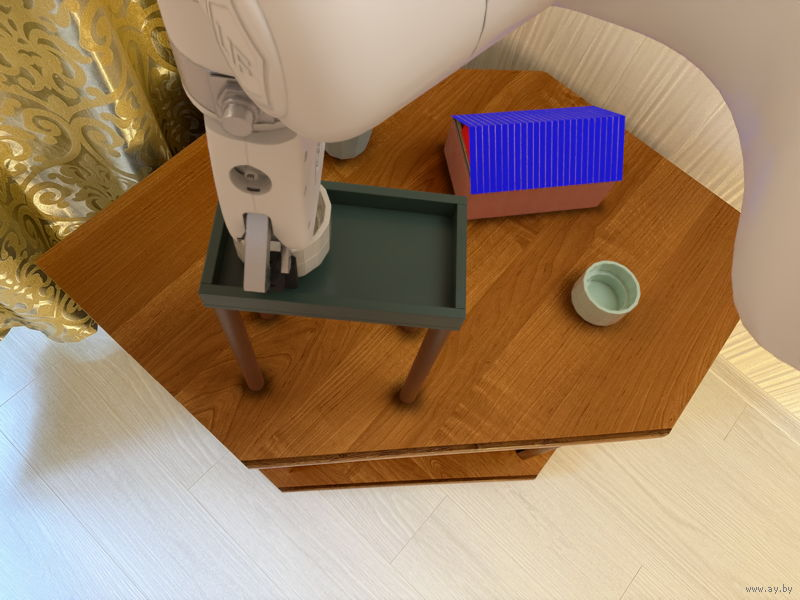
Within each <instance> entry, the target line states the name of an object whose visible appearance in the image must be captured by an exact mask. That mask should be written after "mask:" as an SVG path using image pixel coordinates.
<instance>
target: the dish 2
mask: <svg viewBox="0 0 800 600" xmlns="http://www.w3.org/2000/svg"><path fill="white" fill-rule="evenodd" d="M640 287H641V286H640V283H639V281H638V279H637V277H636V276H635V273H633V272H632V271H631V270H630V269H629V268H628V267H627V266H625V265H623V264H621V263H619V262H617V261H614V260H600V261H597V262H594V263H593V264H591V265H590V266H589V267H588V268H586V270H585V271H584V272H583V273H582V274H581V276H579V278H578V279H577V280H576V281H575V282H574V283H573V286H572V289H571V291H570V292H571V293H570V295H571V304H572V306H573V307H574V310H575V312H576V313H577V314H578V315H579V316H580V317H581V318H582V319H583V320H584V321H586V322H588V323H590V324H592V325H594V326H602V327H608V326H611V325H614V324H616V323H618V322H619V321H620V320H621V319H623V318H624V317H625V316H626V315H628V314H629V313H630V312H632V310H634V308H636V307H637V305H638V303H639V301H640V298H641V288H640Z"/></svg>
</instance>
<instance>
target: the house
mask: <svg viewBox="0 0 800 600" xmlns="http://www.w3.org/2000/svg"><path fill="white" fill-rule="evenodd" d="M451 118H452V120H451V124H450V127H449V130H448V135H447V137H446V141H445V145H444V148H443V152H444V156H445V160H446V164H447V169H448V172H449V176H450V180H451V184H452V187H453V188H452V189H453V192H454V195H458V196H466V197H467V221H470V220H471V221H472V220H480V219H489V218H499V217H509V216H519V215H520V216H521V215H528V214H538V213H549V212H550V213H551V212H559V211H569V210H579V209H589V208H597V207H599V205H600V204H601V202H602V201H603V200H604V199H605V198H606V196H607V195H608V194H609V192H610V191H611V190H612V189H613V188H614V186H615V184H616V183H617V182H623V172H624V152H625V151H624V150H625V132H626V131H625V129H626V115H624V114H621V113H618V112H616V111H615V112H614V111H612V110H609V109H606V108H603V107H599V106H597V105H586V106H572V107H557V108H556V107H555V108H543V109H542V108H541V109H527V110H510V111H498V112H497V111H496V112H483V113H470V114H453V115H452V114H451Z"/></svg>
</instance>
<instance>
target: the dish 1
mask: <svg viewBox="0 0 800 600" xmlns="http://www.w3.org/2000/svg"><path fill="white" fill-rule="evenodd" d="M233 240H234V244H235V247H236V251H237V254H238V256H239V258H240V259H241V260H242V261H243V262H244V264H245V247H244V240H241V242H240V243H238V242H237V241H236V240H235V239H234V238H233ZM330 240H331V203H330V200H329V197H328V195H327V192H326V189H325V188H324V187H323V186H322V185H321V184H320V190H319V198H318V205H317V212H316V219H315V225H314V231H313V236H312V240H311V242H310V244H309V245H308V246H307V247H306V248H304V249H291V255H293V256H294V257H296V262H297V271H298V277H301V276H304V275H306V274H307V273H309V272H310V271H312V270H313V269H315V268H316V267H317V266H319V265H320V264H321V262H322V261H323V259H324V258H325V256H326V254H327V253H328V251H329V248H330ZM270 251H280V242H276V241H271V242H270Z"/></svg>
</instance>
